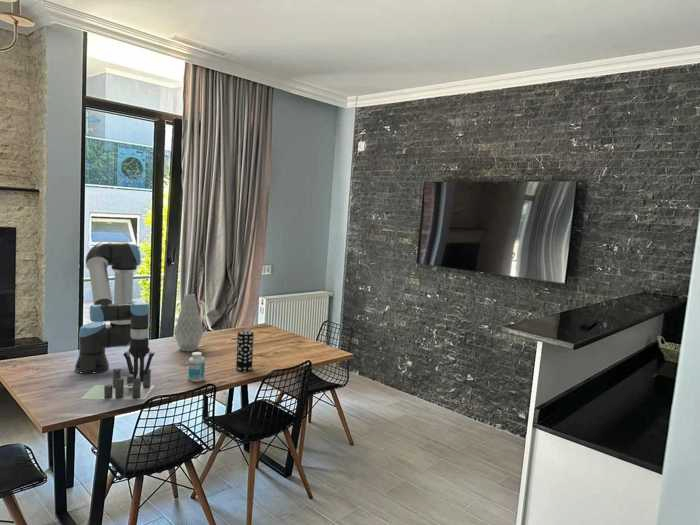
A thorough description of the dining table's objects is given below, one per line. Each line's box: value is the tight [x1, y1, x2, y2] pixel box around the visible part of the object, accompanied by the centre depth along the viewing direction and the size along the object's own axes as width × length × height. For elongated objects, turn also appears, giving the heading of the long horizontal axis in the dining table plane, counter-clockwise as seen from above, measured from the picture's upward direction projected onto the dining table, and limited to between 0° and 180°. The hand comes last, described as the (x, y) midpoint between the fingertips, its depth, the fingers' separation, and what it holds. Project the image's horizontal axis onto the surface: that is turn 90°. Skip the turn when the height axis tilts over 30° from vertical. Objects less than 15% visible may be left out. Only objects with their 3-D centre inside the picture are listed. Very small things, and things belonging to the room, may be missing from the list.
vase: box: [173, 293, 204, 352], centre depth 297 cm, size 17×17×33 cm
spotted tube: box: [235, 330, 254, 373], centre depth 266 cm, size 8×8×20 cm
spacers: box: [104, 368, 152, 400], centre depth 223 cm, size 16×16×8 cm
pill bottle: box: [188, 351, 206, 383], centre depth 247 cm, size 8×7×14 cm
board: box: [80, 384, 155, 400], centre depth 223 cm, size 26×17×1 cm, turn 98°
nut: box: [124, 383, 133, 394], centre depth 224 cm, size 5×6×3 cm
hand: (138, 389), depth 224 cm, fingers closed
